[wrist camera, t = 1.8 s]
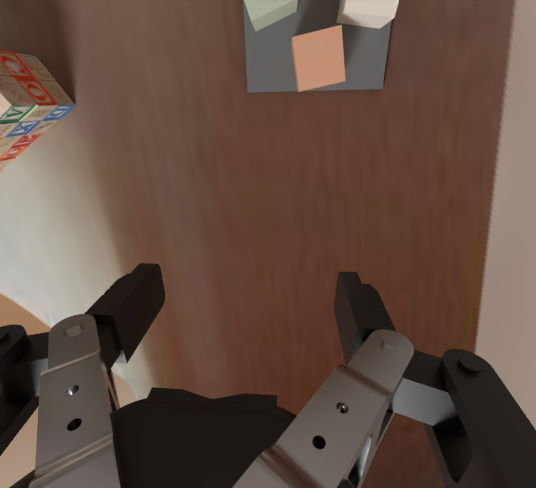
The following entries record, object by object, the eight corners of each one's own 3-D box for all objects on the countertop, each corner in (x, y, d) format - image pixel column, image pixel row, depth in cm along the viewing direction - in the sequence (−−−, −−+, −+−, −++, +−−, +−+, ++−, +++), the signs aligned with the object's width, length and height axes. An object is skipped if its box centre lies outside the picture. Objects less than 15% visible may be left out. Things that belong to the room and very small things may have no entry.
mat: (242, -33, 29) (241, -37, 28) (397, -41, 28) (400, -45, 27) (248, 92, 34) (247, 92, 33) (380, 89, 33) (382, 88, 32)
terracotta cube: (291, 45, 31) (292, 37, 27) (334, 34, 30) (341, 24, 26) (297, 92, 33) (299, 91, 29) (338, 83, 32) (345, 80, 28)
